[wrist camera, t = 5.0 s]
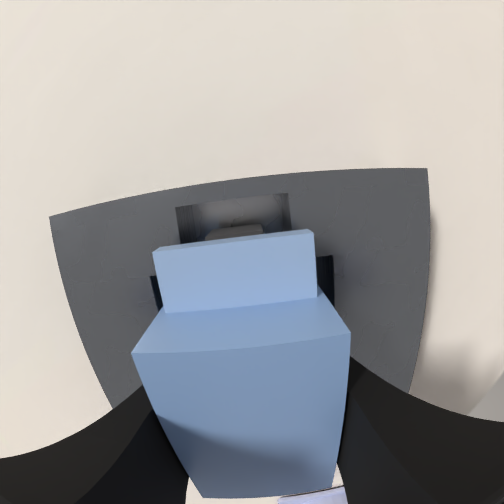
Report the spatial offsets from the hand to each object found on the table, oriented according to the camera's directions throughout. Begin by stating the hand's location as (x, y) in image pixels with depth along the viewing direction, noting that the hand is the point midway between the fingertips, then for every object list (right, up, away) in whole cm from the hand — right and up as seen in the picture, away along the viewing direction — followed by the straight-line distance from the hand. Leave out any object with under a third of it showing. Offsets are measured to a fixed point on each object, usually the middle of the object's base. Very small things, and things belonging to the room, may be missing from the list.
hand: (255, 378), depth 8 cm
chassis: (0, +1, +3) cm, 3 cm away
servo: (0, +1, +2) cm, 2 cm away
